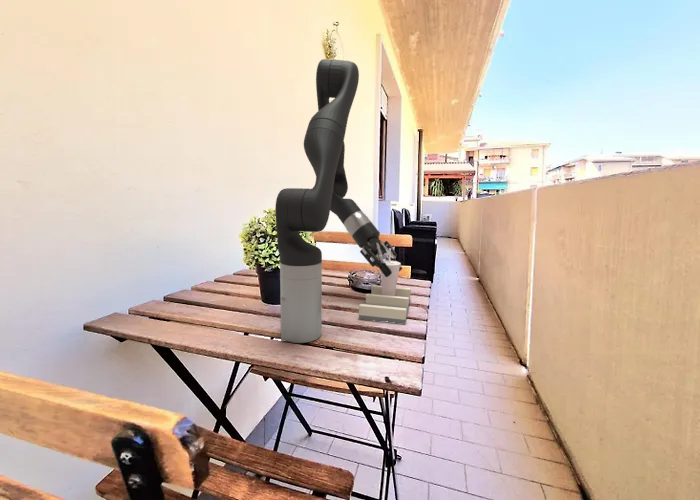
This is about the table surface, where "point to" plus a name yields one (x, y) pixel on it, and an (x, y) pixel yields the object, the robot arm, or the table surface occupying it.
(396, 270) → the smoothie
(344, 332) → the table surface
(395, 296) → the rack
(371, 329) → the table surface
